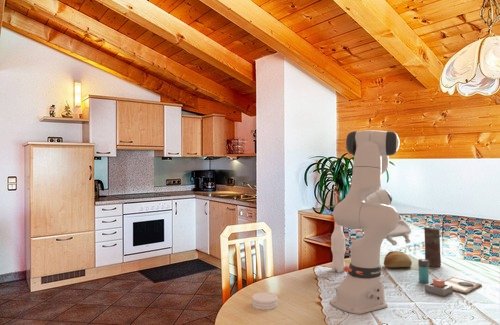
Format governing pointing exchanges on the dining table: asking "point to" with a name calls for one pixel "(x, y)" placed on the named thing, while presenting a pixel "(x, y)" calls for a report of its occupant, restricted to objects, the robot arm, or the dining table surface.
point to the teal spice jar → (423, 271)
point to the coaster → (264, 301)
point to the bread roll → (397, 259)
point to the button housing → (438, 289)
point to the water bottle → (338, 249)
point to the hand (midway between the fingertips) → (402, 243)
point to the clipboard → (462, 285)
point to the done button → (439, 283)
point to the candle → (432, 246)
